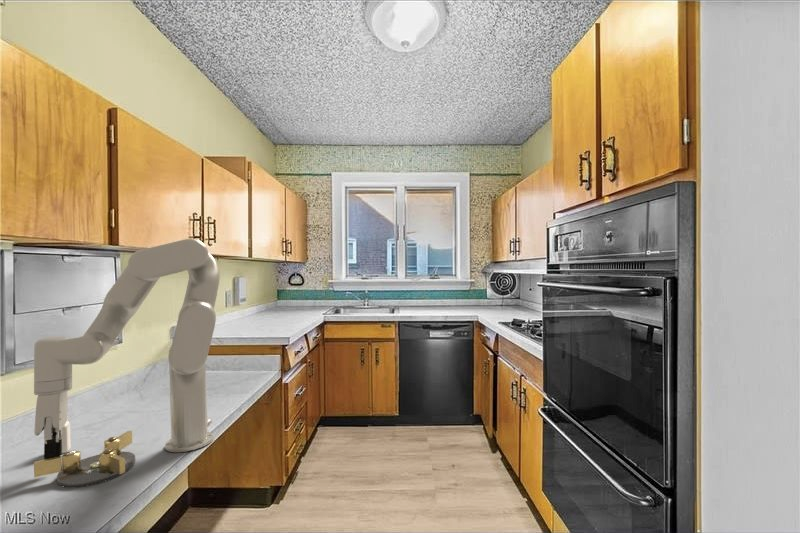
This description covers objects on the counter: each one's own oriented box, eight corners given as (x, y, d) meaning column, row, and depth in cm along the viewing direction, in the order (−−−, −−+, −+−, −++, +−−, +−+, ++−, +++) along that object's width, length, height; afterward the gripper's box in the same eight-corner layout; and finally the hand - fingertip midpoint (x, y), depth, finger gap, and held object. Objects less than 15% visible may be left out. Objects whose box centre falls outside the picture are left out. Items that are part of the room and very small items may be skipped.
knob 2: (114, 458, 107) (114, 440, 107) (101, 458, 107) (100, 441, 107) (136, 444, 116) (136, 427, 116) (124, 444, 116) (123, 428, 116)
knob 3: (96, 470, 100) (95, 451, 100) (112, 464, 103) (112, 446, 103) (114, 478, 96) (113, 458, 96) (130, 471, 99) (130, 452, 99)
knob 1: (82, 465, 103) (81, 447, 104) (79, 471, 100) (78, 452, 100) (37, 475, 99) (36, 456, 99) (32, 481, 96) (32, 461, 96)
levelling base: (91, 458, 112) (90, 448, 112) (148, 456, 112) (148, 446, 112) (39, 488, 96) (38, 478, 96) (106, 486, 96) (105, 475, 96)
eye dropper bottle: (77, 446, 120) (76, 405, 121) (65, 454, 115) (64, 412, 115) (61, 447, 120) (60, 407, 120) (47, 456, 114) (46, 413, 114)
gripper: (42, 381, 109) (42, 450, 109) (25, 394, 96) (24, 472, 96) (77, 377, 113) (77, 443, 112) (65, 390, 100) (65, 465, 99)
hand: (53, 457), depth 104 cm, fingers closed
